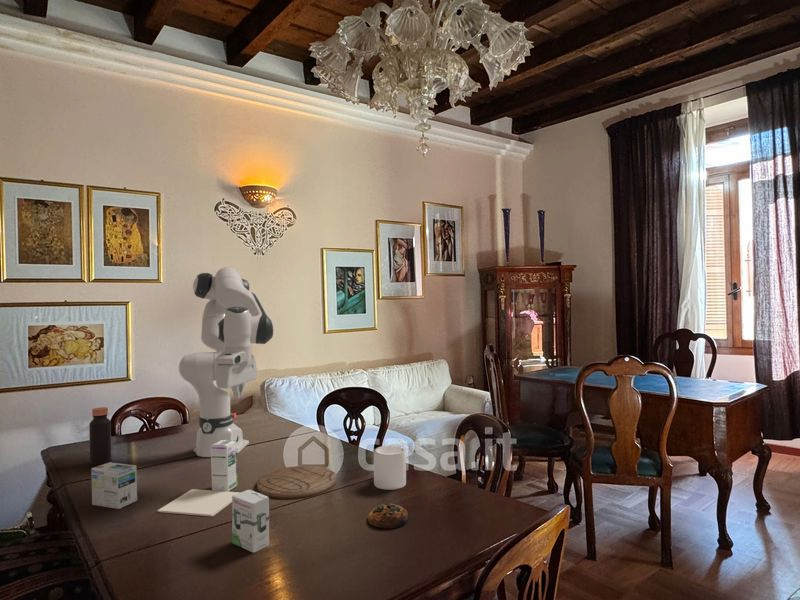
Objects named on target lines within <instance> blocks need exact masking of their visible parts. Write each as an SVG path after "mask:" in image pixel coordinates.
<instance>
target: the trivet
mask: <svg viewBox="0 0 800 600" xmlns="http://www.w3.org/2000/svg"><path fill="white" fill-rule="evenodd" d="M337 477H338V476H337V474H336V473H335V472H334V471H333V470H332V469H329V468H328V467H323V466H318V465H317V466H316V465H315V466H314V465H297V466H289V467H288V466H287V467H282V468H278V469H274V470H272V471H269V472H267V473H265V474H263V475H262V476H260V477H259V478H258V480H257V481H256V483H257V485H256V488H257V489H256V490H257V491H258V493H260V494H263V495H265V496H268V497H269V498H273V499H283V500H287V499H288V500H290V499H291V500H292V499H293V500H294V499H303V498H304V499H305V498H309V497H314V496H318V495H321V494H324V493H326V492H328V491H329V490H331V489H333V488H334V487H335V485H336V484H337Z"/></svg>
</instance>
